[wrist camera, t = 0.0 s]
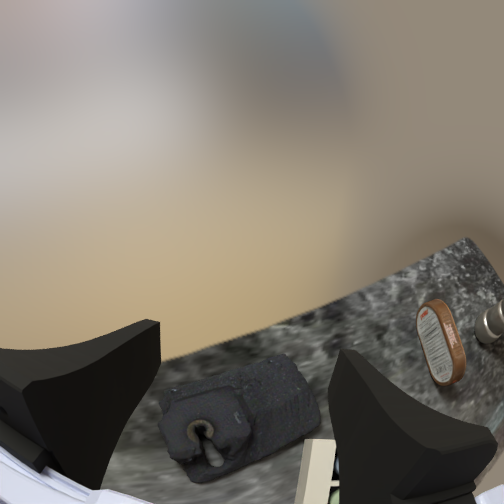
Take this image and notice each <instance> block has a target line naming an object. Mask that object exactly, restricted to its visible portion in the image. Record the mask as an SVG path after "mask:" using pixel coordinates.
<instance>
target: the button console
mask: <svg viewBox="0 0 504 504" xmlns="http://www.w3.org/2000/svg"><path fill="white" fill-rule="evenodd" d="M335 450H336V443H335V440H323V439H305V440H304V447H303V454H302V461H301V468H300V474H299V480H298V486H297V492H296V498H295V503H294V504H327V503H328V497H329V491H330V486H339V480H331V479H332V472H333V465H334V458H335Z"/></svg>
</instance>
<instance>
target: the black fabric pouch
mask: <svg viewBox="0 0 504 504" xmlns="http://www.w3.org/2000/svg"><path fill="white" fill-rule="evenodd" d="M164 395H165V397H164V400H162V401H160V402H159V405H160V407H161V409H162V412H163V417H162V420H161V421H160V422H158V427H159V429H160V432H161V434H162V435H163V437H164V440H165V442H166V444H167V448H168V453H169V454H170V458H171V459H174V460H175V461H177V462H178V463H179V464H181V465H182V464H184V466H183V469H184V471H186V472H187V476H188V477H189V478H190V481H192V482H197V483H202V482H204V481H210V480H213V479H215V478H217V477H220V476H222V475H225V474H228V473H230V472H232V471H235V470H237V469H239V468H241V467H243V466H245V465H248V464H249V463H250V462H254V461H255V460H260V459H262V458H263V457H265V456H268V455H271V454H273V453H274V452H276V451H277V450H278V449H280V447H283V446H286V445H287V444H289V443H290V442H293V441H294V440H296V439H297V438H298V437H300V436H302V435H305V434H308V433H310V432H311V431H312V430H313V429H314V428H315V427H318V426H319V424H320V411H319V408H318V405H317V403H316V401H315V398H314V395H313V393H312V391H311V390H310V388H309V386H308V384H307V382H306V380H305V378H304V377H303V376H302V374H301V373H300V372H299V371H298V370H297V366H296V364H295V363H293V361H292V360H290V359H289V358H288V357H287V356H286V354H281V355H277V356H274V357H270V358H268V359H266V360H264V361H262V362H259V363H254V364H250V365H247V366H245V367H240V368H237V369H233V370H230V371H227V372H223V373H221V374H219V375H214V376H212V377H208V378H205V379H202V380H199V381H195V382H192V383H189V384H185V385H182V386H176V387H174V388H170V389H166V390H165V391H164ZM200 434H201V435H203V434H205V436H206V437H207V439H208V440H211V441H212V442H213V444H214V445H215V447H216V449H217V450H218V451H219V452H220V454H221V455H222V456H223V458H224V459H225V462H224V464H223V465H222V466H220V467H214V466H211V465H210V464H209V463H208V460H207V459H206V457H205V450H204V449H203V446H202V442H201V441H200V439H199V435H200ZM185 463H187V464H185Z"/></svg>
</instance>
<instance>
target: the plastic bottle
mask: <svg viewBox="0 0 504 504" xmlns="http://www.w3.org/2000/svg"><path fill="white" fill-rule="evenodd" d="M474 330H475V335H476V337H477V339H478V340H479V341H480V342H482V343H484V344H489V343H492V342H494V341H495V340H497V339H498V338H499V337H500V336H501V334H502V333H504V298H503V299H502V300H501V301H500V302H499V303H498V304H496V305H495V306H493V307H492V308H490V309H487V310H486V311H484V312H482V313H481V314H480V315H479V316H478V318H477V319H476V322H475V326H474Z"/></svg>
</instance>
